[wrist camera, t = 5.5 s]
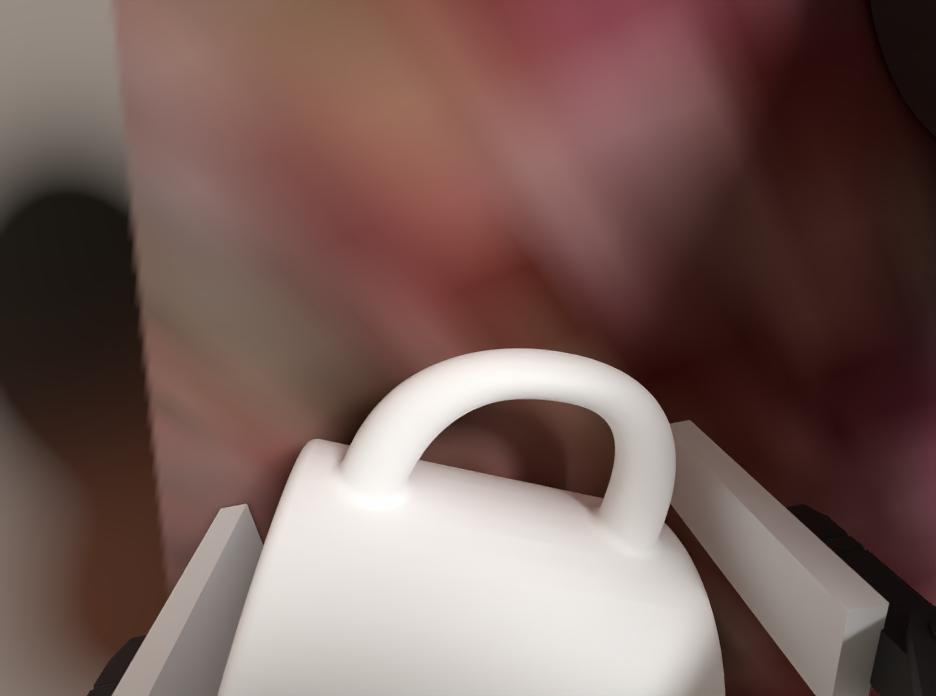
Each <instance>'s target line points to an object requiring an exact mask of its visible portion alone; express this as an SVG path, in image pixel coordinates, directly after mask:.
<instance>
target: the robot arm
mask: <svg viewBox="0 0 936 696" xmlns="http://www.w3.org/2000/svg"><path fill="white" fill-rule="evenodd" d="M870 3H871V9H872V15H873V20H874V24H875V28H876V32H877V36H878V40H879V43H880V46H881V49H882V52H883V55H884V58H885V61H886V63H887V66H888V68H889V70H890V73H891V75H892V77H893V80H894V82H895V83H896V85H897V87H898V89H899V91H900V93H901V95H902V96H903V98H904V99H905V101H906V102H907V104H908V105H909V107H910V108H911V110H912V111H913V113H914V114H915V115H916V116H917V118H918V119H919V120H920V121H921V122H922V124H923V125H924V126H925V127H926V128H927V129H928V130H929V131H930V132H931V133H932V134H933V135H934V136H935V137H936V0H870ZM670 427H671V430H672V434H673V438H674V444H675V452H676V473H675V482H674V488H673V493H672V498H671V502H670V504H671V505H672V507H673V508H674V509H675V510H676V512H677V513H678V514H679V516H680V517H681V518H682V520H683V521H684V522H685V524H686V525H687V526H688V528H689V529H690V530H691V532H692V533H693V534H694V536H695V537H696V538H697V540H698V541H699V542H700V544H701V545H702V546H703V547H704V549H705V550H706V551H707V553H708V554H709V555H710V557H711V558H712V559H713V561H714V562H715V563H716V565H717V566H718V567H719V569H720V570H721V571H722V573H723V574H724V575H725V577H726V578H727V579H728V581H729V582H730V583H731V584H732V586H733V587H734V588H735V590H736V591H737V592H738V594H739V595H740V596H741V598H742V599H743V600H744V602H745V603H746V604H747V606H748V607H749V608H750V610H751V611H752V612H753V614H754V615H755V616H756V618H757V619H758V620H759V621H760V623H761V624H762V625H763V627H764V628H765V629H766V631H767V632H768V633H769V635H770V636H771V637H772V639H773V640H774V641H775V643H776V644H777V645H778V647H779V648H780V649H781V651H782V652H783V653H784V655H785V656H786V657H787V658H788V660H789V661H790V662H791V664H792V665H793V666H794V668H795V669H796V670H797V672H798V673H799V674H800V676H801V677H802V678H803V680H804V681H805V682H806V684H807V685H808V686H809V688H810V689H811V690H812V692H813V693H814V694H815V695H816V696H869V693H870V688H871V685H872V686H873V687H874V688H875V690H876V691H877V692H878V693H879V694H880V695H881V696H936V606H933V605H932V604H931V603H929V602H928V601H927V600H926V599H924V598H923V597H922V596H921V595H920V594H919V593H917V592H916V591H915V590H914V589H913V588H911V587H910V586H909V585H908V584H907V583H906V582H904V581H903V580H902V579H901V578H900V577H898V576H897V575H896V574H895V573H894V572H893V571H891V570H890V569H889V568H888V567H887V566H885V565H884V564H883V563H882V562H881V561H880V560H878V559H877V558H876V557H875V556H874V555H872V554H871V553H870V552H869V551H868V550H866V551H865V550H864V548H863V546H862V545H861V544H859V543H858V542H857V541H856V540H855V539H853V538H852V537H849V536H848V535H847V533H846V532H845V531H844V530H843V529H842V528H840V527H839V526H838V525H837V524H836V523H835V522H833V521H832V520H831V519H830V518H829V517H827V516H825V515H823V514H821V513H819V512H817V511H815V510H813V509H811V508H810V507H808V506H806V505H804V504H802V505H797V506H792V507H787V508H785V507H784V506H783V505H782V504H781V503H780V502H779V501H778V500H776V499H775V498H774V497H773V496H772V495H771V494H770V493H769V492H768V491H767V490H766V489H764V488H763V487H762V486H761V485H760V484H759V483H758V482H757V481H756V480H755V479H754V478H753V477H751V476H750V475H749V474H748V473H747V472H746V471H745V470H744V469H743V468H742V467H741V466H739V465H738V464H737V463H736V462H735V461H734V460H733V459H732V458H731V457H730V456H729V455H727V454H726V453H725V452H724V451H723V450H722V449H721V448H720V447H719V446H718V445H717V444H715V443H714V442H713V441H712V440H711V439H710V438H709V437H708V436H707V435H706V434H705V433H704V432H702V431H701V430H700V429H699V428H698V427H697V426H696V425H695V424H694V423H693V422H692V421H690V420H687V421H682V422H676V423H671V424H670ZM262 549H263V544H262V541H261V538H260V536H259V533H258V531H257V528H256V526H255V523H254V521H253V518H252V516H251V513H250V510H249V508H248V505H247V504H242V505H237V506H232V507H226V508H221V509H220V511H219V512H218V514H217V516H216V518H215V519H214V521H213V523H212V524H211V526H210V528H209V530H208V531H207V533H206V535H205V536H204V538H203V540H202V542H201V543H200V545H199V547H198V548H197V550H196V552H195V554H194V555H193V557H192V559H191V560H190V562H189V564H188V566H187V567H186V569H185V571H184V572H183V574H182V576H181V578H180V579H179V581H178V583H177V584H176V586H175V588H174V590H173V591H172V593H171V595H170V597H169V598H168V600H167V602H166V603H165V605H164V607H163V609H162V610H161V612H160V614H159V615H158V617H157V619H156V621H155V622H154V624H153V626H152V627H151V629H150V631H149V633H148V634H147V635H145V636H140V637H135V638H131V639H130V640H129V641H128V642H127V643H126V644H125V645H124V646H123V647H122V648H121V649H120V650H119V652H118V653H116V655H114V657H113V658H112V659H111V660H110V661H109V662H108V664H107V665H106V667H105V668H104V670H103V672H102V673H101V675H100V676H99V678H98V679H97V681H96V683H95V684H94V689H93V690H91V691H90V692H89V694H88V695H87V696H217V695H218V692H219V688H220V685H221V681H222V678H223V674H224V670H225V667H226V664H227V660H228V657H229V653H230V650H231V646H232V643H233V640H234V636H235V633H236V630H237V626H238V623H239V620H240V617H241V614H242V610H243V607H244V604H245V601H246V598H247V594H248V591H249V588H250V585H251V582H252V579H253V576H254V573H255V570H256V567H257V564H258V561H259V558H260V555H261V552H262Z"/></svg>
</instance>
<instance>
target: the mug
mask: <svg viewBox="0 0 936 696" xmlns="http://www.w3.org/2000/svg"><path fill="white" fill-rule="evenodd" d="M513 399H540V400H550V401H558V402H564V403H569V404H574V405H578V406H581V407H584V408H587V409H589V410H591V411H593V412H595V413H597V414H598V415H600V416H601V417H602V418H603V419H604V420H605V421H606V422H607V423H608V425H609V426H610V428H611V430H612V433H613V436H614V440H615V458H614V465H613V470H612V475H611V478H610V482H609V485H608V488H607V491H606V494H605V496H604V498H599V497H595V496H590V495H585V494H580V493H575V492H571V491H566V490H561V489H556V488H552V487H547V486H542V485H537V484H532V483H528V482H523V481H518V480H513V479H508V478H504V477H499V476H494V475H489V474H485V473H480V472H475V471H470V470H465V469H461V468H456V467H451V466H446V465H441V464H437V463H432V462H427V461H422V460H419V458H420V457H421V455H422V454H423V452H424V451H425V450H426V448H427V447H428V446H429V445H430V444H431V442H432V441H433V440H434V439H435V438H436V437H437V436H438V435H439V434H440V433H441V432H442V431H443V430H444V429H445V428H446V427H447V426H449V425H450V424H451V423H452V422H454V421H455V420H457V419H458V418H460V417H461V416H463V415H465V414H466V413H468V412H470V411H472V410H474V409H477V408H479V407H482V406H484V405H487V404H491V403H494V402H499V401H505V400H513ZM675 473H676V452H675V444H674V438H673V434H672V430H671V427H670V424H669V422H668V419H667V417H666V415H665V413H664V411H663V410H662V408H661V406H660V405H659V403H658V402H657V401H656V399H655V398H654V397H653V396H652V395H651V394H650V392H649V391H648V390H647V389H646V388H644V387H643V386H642V385H641V384H640V383H639V382H637V381H636V380H635V379H633V378H632V377H630V376H629V375H627V374H625V373H624V372H622V371H620V370H618V369H616V368H614V367H611V366H609V365H607V364H605V363H602V362H599V361H596V360H593V359H590V358H587V357H583V356H579V355H575V354H569V353H564V352H558V351H551V350H541V349H524V348H520V349H519V348H512V349H496V350H487V351H480V352H475V353H470V354H465V355H461V356H457V357H454V358H451V359H448V360H445V361H442V362H439V363H437V364H434V365H432V366H430V367H428V368H426V369H424V370H422V371H420V372H418V373H416V374H415V375H413V376H411V377H410V378H408V379H407V380H405V381H404V382H402V383H401V384H400V385H398V386H397V387H396V388H394V389H393V390H392V391H391V392H390V393H389V394H387V395H386V396H385V397H384V398H383V399H382V400H381V401H380V402H379V403H378V405H377V406H376V407H375V408H374V409H373V410H372V411H371V413H370V414H369V415H368V417H367V418H366V420H365V421H364V423H363V424H362V425H361V427H360V428H359V430H358V431H357V433H356V435H355V437H354V439H353V441H352V443H351V445H346V444H341V443H336V442H331V441H327V440H322V439H313V440H311V441H309V442H308V443H307V444H306V445H305V446H304V447H303V449H302V450H301V452H300V454H299V456H298V458H297V460H296V462H295V464H294V466H293V469H292V471H291V473H290V475H289V478H288V480H287V483H286V485H285V488H284V490H283V493H282V496H281V498H280V501H279V504H278V506H277V509H276V512H275V514H274V517H273V520H272V523H271V526H270V528H269V531H268V534H267V537H266V540H265V543H264V546H263V549H262V552H261V555H260V558H259V561H258V564H257V567H256V570H255V573H254V576H253V579H252V582H251V585H250V588H249V591H248V594H247V598H246V601H245V604H244V607H243V610H242V614H241V617H240V620H239V623H238V626H237V630H236V633H235V636H234V640H233V643H232V646H231V650H230V653H229V657H228V660H227V664H226V667H225V670H224V674H223V678H222V681H221V685H220V688H219V692H218V695H217V696H725V682H724V670H723V662H722V654H721V648H720V643H719V637H718V632H717V628H716V624H715V620H714V616H713V612H712V609H711V606H710V602H709V599H708V596H707V593H706V591H705V588H704V585H703V583H702V580H701V578H700V576H699V574H698V571H697V569H696V567H695V565H694V563H693V561H692V559H691V557H690V556H689V554H688V552H687V551H686V549H685V547H684V546H683V544H682V543H681V542H680V540H679V539H678V537H677V536H676V535H675V534H674V532H673V531H672V530H671V529H670V528H669V527H668V526H667V525H666V524H665V523H664V522H665V519H666V515H667V512H668V509H669V505H670V502H671V498H672V493H673V488H674V482H675Z"/></svg>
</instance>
